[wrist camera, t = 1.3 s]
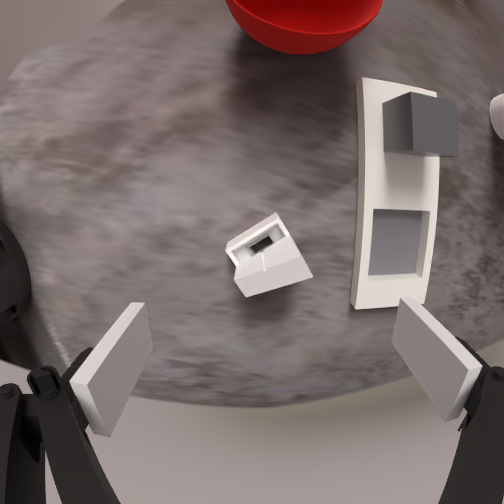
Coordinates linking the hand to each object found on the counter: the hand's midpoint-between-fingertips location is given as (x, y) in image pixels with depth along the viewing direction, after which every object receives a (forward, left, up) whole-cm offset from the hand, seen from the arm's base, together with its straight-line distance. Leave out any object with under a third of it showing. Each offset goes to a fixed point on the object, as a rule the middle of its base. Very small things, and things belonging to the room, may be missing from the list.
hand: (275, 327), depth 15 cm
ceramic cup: (+5, +25, -17) cm, 31 cm away
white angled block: (0, 0, -17) cm, 17 cm away
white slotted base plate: (+14, +5, -17) cm, 23 cm away
